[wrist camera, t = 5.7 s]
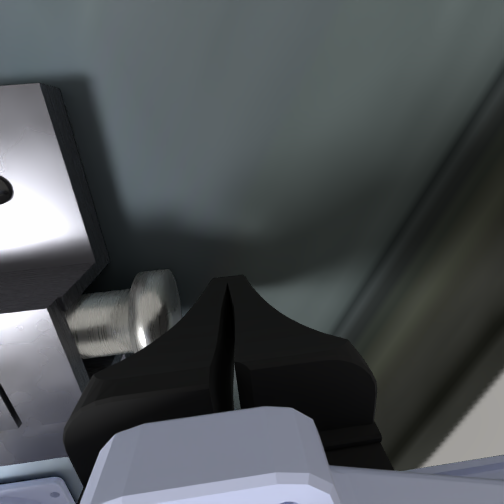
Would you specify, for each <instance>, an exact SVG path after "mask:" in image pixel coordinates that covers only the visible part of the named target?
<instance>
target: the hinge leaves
mask: <svg viewBox="0 0 504 504" xmlns="http://www.w3.org/2000/svg"><path fill="white" fill-rule="evenodd" d="M109 262H110V259H109V256H108V252H107V249H106V246H105V242H104V239H103V235H102V232H101V229H100V225H99V222H98V218H97V215H96V211H95V208H94V205H93V201H92V198H91V194H90V191H89V188H88V184H87V181H86V177H85V174H84V171H83V167H82V164H81V160H80V157H79V154H78V150H77V147H76V143H75V140H74V137H73V133H72V130H71V126H70V123H69V120H68V116H67V113H66V109H65V106H64V103H63V99H62V96H61V92H60V89H59V88H56V87H52V86H48V85H45V84H41V83H32V84H19V85H6V86H0V466H6V465H13V464H20V463H27V462H34V461H40V460H47V459H54V458H61V457H68V455H67V453H66V451H65V447H64V444H63V440H62V439H63V430H64V427H65V425H66V423H67V421H68V419H69V417H70V416H71V414H72V412H73V410H74V408H75V406H76V404H77V402H78V400H79V398H80V397H81V395H82V393H83V391H84V389H85V387H86V386H87V384H88V383H89V381H90V379H91V378H92V376H93V375H94V374H95V373H97V372H99V371H101V370H103V369H105V368H107V367H110V366H112V365H114V364H116V363H118V362H120V361H122V360H124V359H126V358H127V357H129V356H131V355H133V354H134V353H127V354H119V355H111V356H103V357H95V358H88V359H81V356H80V354H79V351H78V348H77V346H76V343H75V341H74V338H73V336H72V333H71V330H70V328H69V325H68V323H67V320H66V318H65V315H64V313H63V312H64V311H67V310H68V309H69V308H70V307H71V305H72V304H73V303H74V302H75V301H76V300H77V299H78V297H79V296H80V295H81V294H82V293H83V292H84V291H85V289H86V288H87V287H88V286H89V285H90V284H91V283H92V281H93V280H94V279H95V278H96V277H97V276H98V274H99V273H100V272H101V271H102V270H103V269H104V268H105V266H106V265H107V264H108V263H109Z"/></svg>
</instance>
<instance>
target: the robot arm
mask: <svg viewBox="0 0 504 504" xmlns="http://www.w3.org/2000/svg"><path fill="white" fill-rule="evenodd" d="M234 356H235V357H234ZM234 364H235V371H236V378H237V385H238V392H239V399H240V406H241V410H234V403H233V379H234ZM376 397H377V384H376V380H375V378H374V375H373V373H372V371H371V370H370V368H369V367H368V365H367V363H366V362H365V360H364V359H363V358H362V356H361V355H360V354H359V352H358V351H357V350H356V349H355V348H354V346H353V345H352V344H351V343H350V342H349V340H347V339H344V338H340V337H336V336H333V335H329V334H325V333H322V332H319V331H317V330H314V329H311V328H309V327H306V326H304V325H302V324H300V323H298V322H296V321H294V320H292V319H290V318H288V317H286V316H285V315H283V314H282V313H280V312H279V311H277V310H276V309H275V308H273V307H272V306H271V305H270V304H269V303H267V302H266V301H265V300H264V299H263V298H262V297H261V296H260V295H259V294H258V293H257V292H256V291H255V289H254V288H253V287H252V286H251V285H250V283H249V282H248V280H247V279H246V277H245V276H244V275H237V276H228V277H220V278H213V279H212V280H211V282H210V283H209V285H208V286H207V288H206V289H205V291H204V292H203V294H202V295H201V296H200V298H199V299H198V300H197V302H196V303H195V304H194V305H193V307H192V308H191V309H190V310H189V311H188V312H187V314H186V315H185V316H184V317H183V318H182V319H181V320H180V321H179V322H177V323H176V324H175V325H174V326H173V327H172V328H171V329H169V330H168V331H167V332H165V333H164V334H163V335H161V336H160V337H159V338H157V339H156V340H155V341H153V342H152V343H151V344H149V345H147V346H146V347H144V348H143V349H141V350H140V351H138V352H136V353H134V354H133V355H131V356H129V357H127V358H126V359H124V360H122V361H120V362H118V363H116V364H114V365H112V366H110V367H107V368H105V369H103V370H101V371H99V372H97V373H95V374H94V375H93V376H92V378H91V379H90V381H89V383H88V384H87V386H86V387H85V389H84V391H83V393H82V395H81V397H80V398H79V400H78V402H77V404H76V406H75V408H74V410H73V412H72V414H71V416H70V417H69V419H68V421H67V423H66V425H65V427H64V430H63V439H62V440H63V444H64V447H65V451H66V453H67V455H68V457H69V459H70V461H71V463H72V465H73V467H74V469H75V471H76V473H77V475H78V477H79V479H80V481H81V483H82V485H83V486H84V487H83V490H82V493H81V495H80V498H79V500H78V503H77V504H504V455H500V456H493V457H487V458H481V459H475V460H468V461H462V462H456V463H449V464H443V465H437V466H431V467H424V468H418V469H412V470H406V471H394V469H393V467H392V465H391V463H390V461H389V459H388V457H387V455H386V453H385V451H384V449H383V447H382V445H381V443H380V442H381V440H382V437H381V433H380V431H379V429H378V427H377V426H376V424H375V422H374V416H375V407H376ZM0 504H76V503H75V502H74V500H73V498H72V496H71V494H70V492H69V490H68V488H67V486H66V484H65V483H64V481H63V480H62V479H61V478H59V477H49V478H42V479H36V480H29V481H22V482H15V483H9V484H2V485H0Z"/></svg>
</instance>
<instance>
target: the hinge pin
mask: <svg viewBox="0 0 504 504" xmlns="http://www.w3.org/2000/svg"><path fill="white" fill-rule="evenodd" d="M63 313H64V315H65V318H66V320H67V323H68V325H69V328H70V330H71V333H72V336H73V338H74V341H75V343H76V346H77V348H78V351H79V354H80V356H81V359H88V358H95V357H103V356H111V355H119V354H127V353H136V352H138V351H140V350H141V349H143V348H144V347H146V346H147V345H149V344H151V343H152V342H153V341H155V340H156V339H157V338H159V337H160V336H161V335H163V334H164V333H165V332H167V331H168V330H169V329H171V328H172V327H173V326H174V325H175V324H176V323H177V322H179V321H180V320H181V319H182V314H181V304H180V297H179V292H178V287H177V284H176V280H175V278H174V275H173V273H172V272H171V271H170V270H169V269H163V270H154V271H146V272H140V273H138V274H137V275H136V276H135V278H134V280H133V283H132V286H131V289H125V290H116V291H108V292H99V293H90V294H82V295H80V296H79V297H78V299H77V300H76V301H75V302H74V303H73V304H72V305H71V307H70V308H69V309H68V310H67V311H64V312H63Z"/></svg>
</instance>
